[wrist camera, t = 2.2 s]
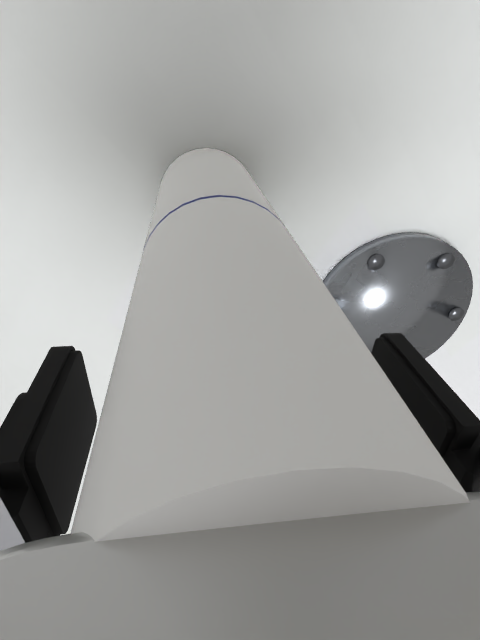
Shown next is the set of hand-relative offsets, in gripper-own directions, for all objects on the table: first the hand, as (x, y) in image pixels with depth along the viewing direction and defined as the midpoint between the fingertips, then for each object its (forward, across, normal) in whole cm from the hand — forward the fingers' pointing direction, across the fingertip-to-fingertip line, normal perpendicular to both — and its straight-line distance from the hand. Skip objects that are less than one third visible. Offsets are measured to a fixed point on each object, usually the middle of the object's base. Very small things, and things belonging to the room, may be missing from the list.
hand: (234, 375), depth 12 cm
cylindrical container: (+19, 0, -1) cm, 19 cm away
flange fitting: (+19, -13, +9) cm, 25 cm away
